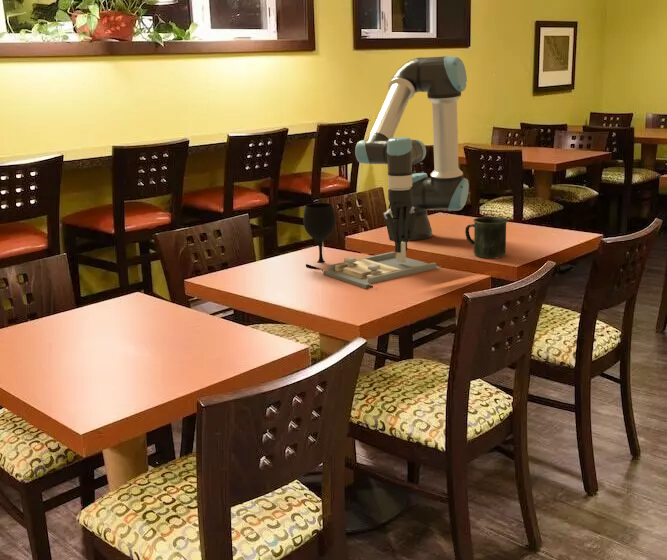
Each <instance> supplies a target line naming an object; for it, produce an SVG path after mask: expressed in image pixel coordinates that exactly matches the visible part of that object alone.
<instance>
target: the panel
mask: <svg viewBox="0 0 667 560" xmlns="http://www.w3.org/2000/svg"><path fill="white" fill-rule="evenodd" d="M371 264H378V265H380V269H378V270H377V273H376V274H371V270H369V269H368V265H371ZM335 270H336V271H341V270H343V273H345V274H348V275H351V276H354V277H357V278H360V279H362V278H366V277H367V281H368V277H372V276H377V275H381V274H386V273H390V272H394V271H399V270H401V269H398V268H395V267H391V266H388V265H385V264H381V263H378V262H374V261H371V260H367V259H362V260H358V261H356V262H354V266H350V267H347V263H343V264H339V265H335Z"/></svg>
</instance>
